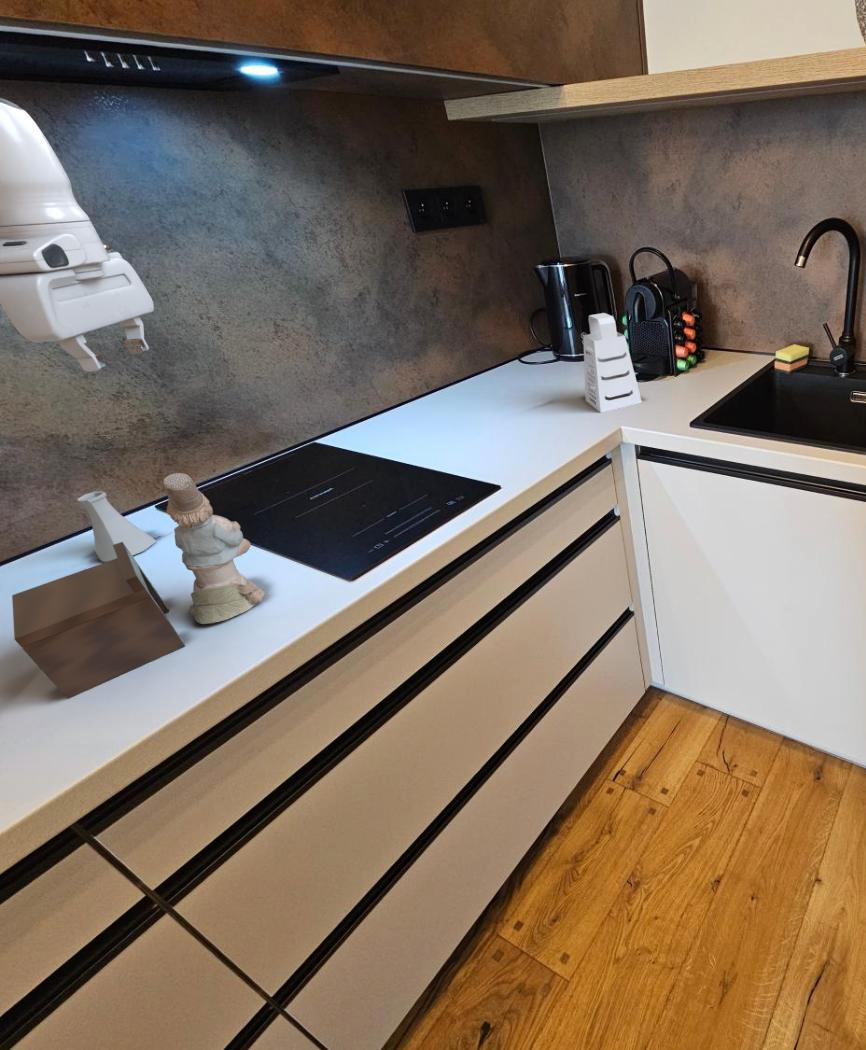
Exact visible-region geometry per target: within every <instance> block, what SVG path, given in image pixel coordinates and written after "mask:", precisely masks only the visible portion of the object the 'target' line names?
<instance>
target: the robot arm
mask: <svg viewBox="0 0 866 1050" xmlns="http://www.w3.org/2000/svg"><path fill="white" fill-rule="evenodd" d="M0 306H1V307H2V309H3V311H4V312H5V314H6V316H7V318H8V319H9V320H10V322H11V323H12V324H13V326H14V328H15V329H16V330H17V331H18V333H19V334H20V335H21V336H22V337H24V338H26V339H27V340H29V341H30V342H33V343H47V342H48V343H50V342H57V344H59V346H60V348H61V349H62V350H64V351H65V352H67V353H68V354H69V355H71V356H72V357H73V358H74V359H76V360H77V362H78V363H79V365H80V367H81V368H82V370H83V371H84V372H87V373H89V372H90V373H91V372H98V371H100V370H103V369H105V368H106V366H107V364H106V362H104V359H103V357H102V356H101V354H100V353H99V354H98V353H97V354H95V353H94V352H93V351H92V350H91V349H90V348H89V347H88V346H87V345H86V344H87V340H86V338H85V336H84V334H87V333H91V332H93V331H96V330H99V329H103V328H106V327H109V326H113V325H115V324H118V325H119V327H121V328H123V330H124V333H125V337H126V340H124V341H123V343H124V345H125V346H126V347H127V350H128V352H129V353H130V354H133V355H135V354H142V353H146V352H148V351H149V350H150V347H149V345H148V343H147V341H146V339H145V328H144V327H145V326H144V322H143V320H142V319H141V317H142V316H144V315H147V314H150V313H153V312H154V311H155V304H154V301H153V299H152V296H151V295H150V293H149V291H148V289H147V288H146V286H145V284H144V283H143V280H141V278H140V276H139V274H138V273H137V272H136V270H135V269H134V268H133V266H132V265H131V264H130V263H129V261H128V260H126V259H124V258H123V257H122V255H121V254H120V252H118V251H116V250H115V249H114V248H112V247H111V246H110V245H108V244H105V243H103V242H102V239H101V238H100V236H99V234H98V232H97V230H96V228H95V226H94V224H93V222H92V221H91V219H90V217H89V216H88V214H87V213H86V212H85V211H84V210H83V209H82V207H81V206H80V205H79V203H78V201H77V200H76V198H75V195H74V193H73V189H72V183H71V180H70V178H69V176H68V174H67V172H66V170H65V168H64V167H63V165H62V163H61V161H60V159H59V158H58V156H57V154H56V153H55V151H54V149H53V148H52V146H51V144H50V142H49V141H48V139H47V138H46V136H45V134H44V132H42V130H41V129H40V127H39V126H38V124H37V123H36V121H35V120H34V119H33V118H32V116H31V115H30V114H29V113H28V112H27V111H26V110H25V109H23V108H22V107H20V106H19V105H18V104H15V103H14V102H12V101H9V100H7V99H5V98H2V97H0Z"/></svg>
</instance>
